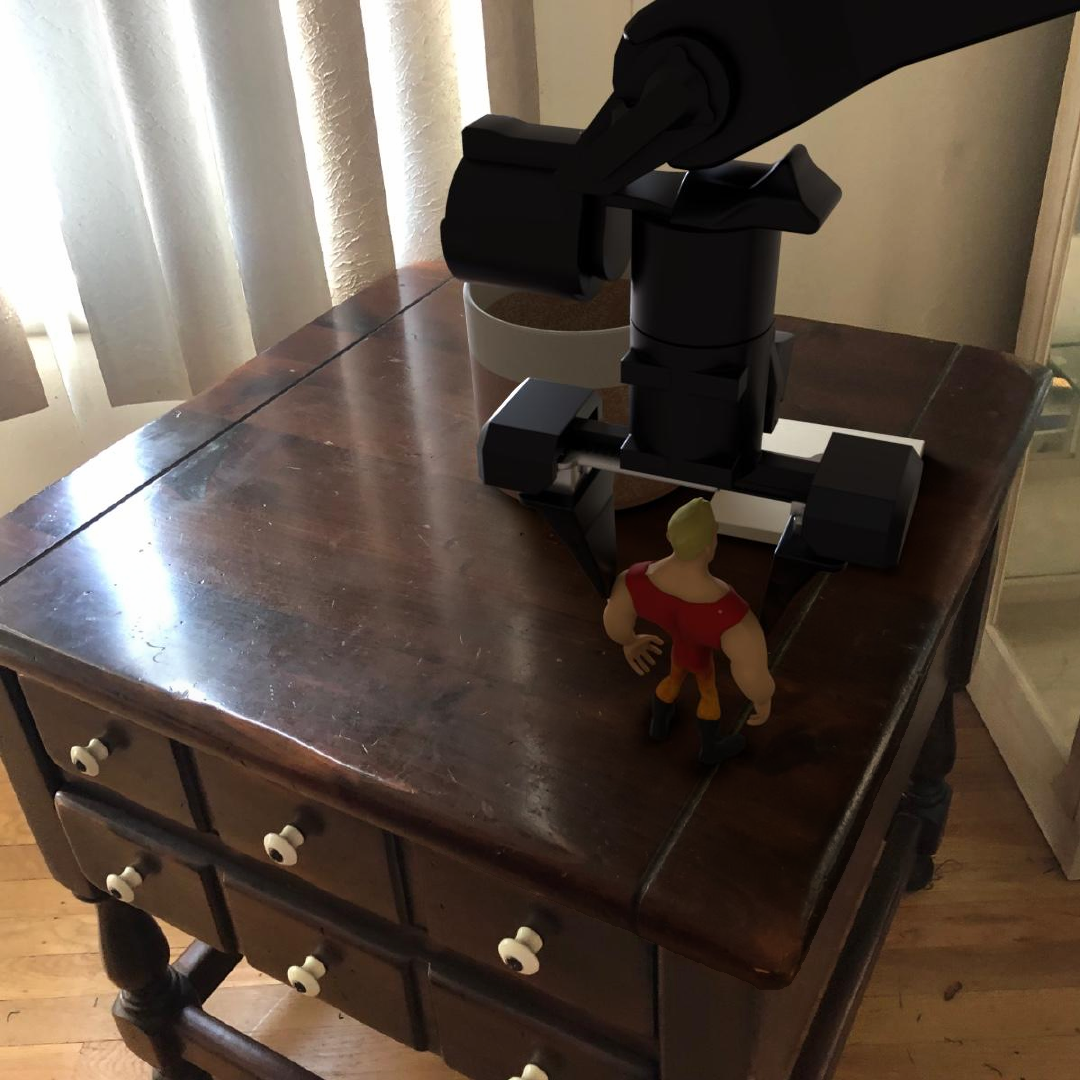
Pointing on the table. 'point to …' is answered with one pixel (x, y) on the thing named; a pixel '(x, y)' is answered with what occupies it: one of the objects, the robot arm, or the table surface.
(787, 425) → the display board
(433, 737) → the table surface
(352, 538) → the table surface
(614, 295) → the planter
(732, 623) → the action figure
